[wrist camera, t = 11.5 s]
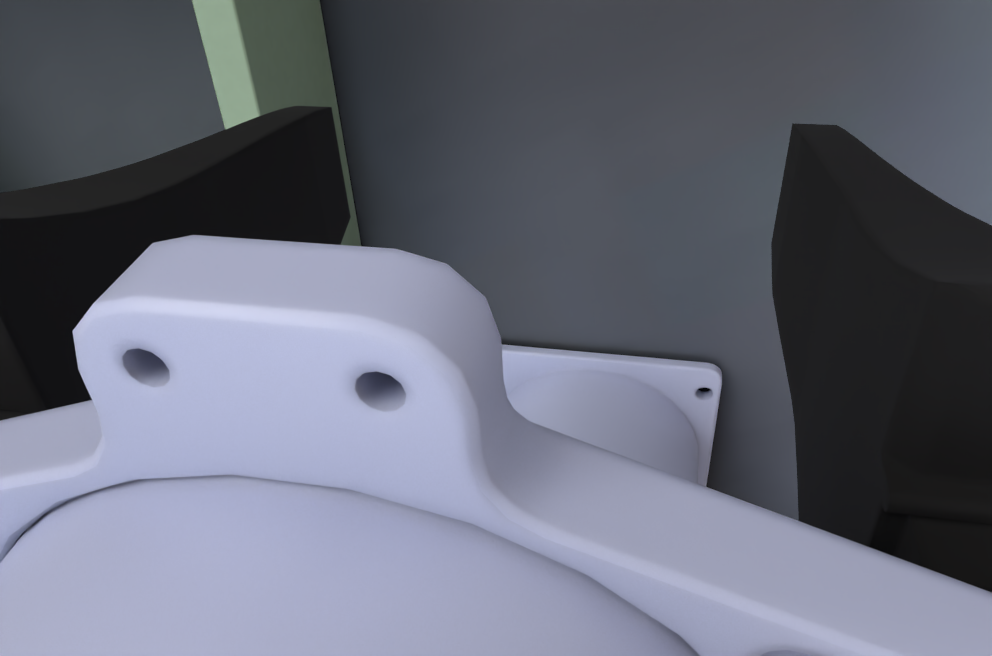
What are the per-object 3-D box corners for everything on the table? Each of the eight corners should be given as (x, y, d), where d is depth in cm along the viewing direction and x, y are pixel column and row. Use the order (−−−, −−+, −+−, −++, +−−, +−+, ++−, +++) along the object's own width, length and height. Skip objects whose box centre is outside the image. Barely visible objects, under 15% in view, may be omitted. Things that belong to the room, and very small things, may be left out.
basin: (364, 260, 27) (299, 370, 23) (-38, 231, 30) (-163, 325, 25) (263, -337, 18) (124, -341, 14) (-304, -298, 21) (-567, -290, 16)
